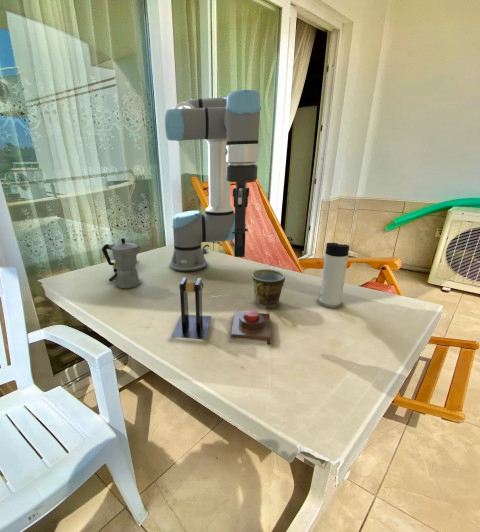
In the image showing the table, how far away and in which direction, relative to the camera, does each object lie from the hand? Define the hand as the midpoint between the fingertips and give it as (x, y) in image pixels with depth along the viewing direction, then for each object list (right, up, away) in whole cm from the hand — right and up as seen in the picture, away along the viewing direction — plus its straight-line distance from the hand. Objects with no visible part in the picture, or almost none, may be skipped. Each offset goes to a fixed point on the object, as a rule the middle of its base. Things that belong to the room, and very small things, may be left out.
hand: (239, 255), depth 82 cm
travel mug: (+31, -15, +14) cm, 37 cm away
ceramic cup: (+10, -16, +14) cm, 24 cm away
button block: (+3, -20, +1) cm, 21 cm away
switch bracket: (-13, -21, +3) cm, 24 cm away
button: (+3, -17, 0) cm, 17 cm away
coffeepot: (-38, -10, +35) cm, 53 cm away
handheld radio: (-42, -5, +47) cm, 63 cm away
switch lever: (-12, -10, +3) cm, 16 cm away
